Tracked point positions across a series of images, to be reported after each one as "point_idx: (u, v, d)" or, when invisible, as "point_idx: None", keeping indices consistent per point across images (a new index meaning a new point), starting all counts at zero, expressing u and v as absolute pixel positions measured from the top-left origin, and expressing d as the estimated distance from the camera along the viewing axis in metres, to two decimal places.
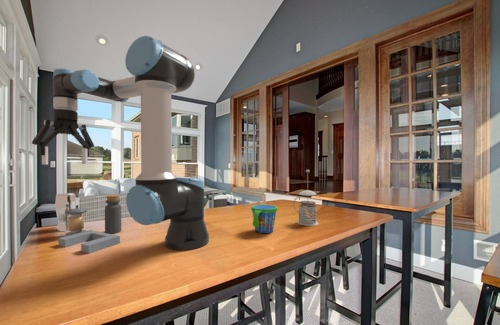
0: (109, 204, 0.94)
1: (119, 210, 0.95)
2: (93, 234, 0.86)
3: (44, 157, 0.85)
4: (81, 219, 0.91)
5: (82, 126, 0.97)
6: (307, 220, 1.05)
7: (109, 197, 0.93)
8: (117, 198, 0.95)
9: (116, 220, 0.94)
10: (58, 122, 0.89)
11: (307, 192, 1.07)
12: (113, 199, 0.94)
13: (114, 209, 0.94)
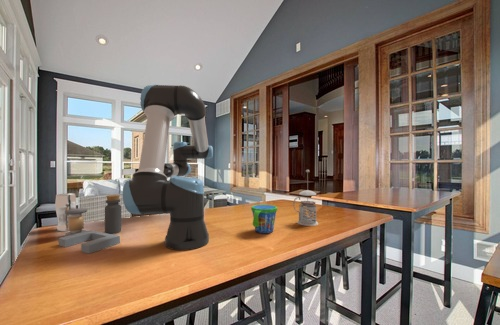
0: (109, 204, 0.94)
1: (119, 210, 0.95)
2: (93, 234, 0.86)
3: None
4: (81, 219, 0.91)
5: None
6: (307, 220, 1.05)
7: (109, 197, 0.93)
8: (117, 198, 0.95)
9: (116, 220, 0.94)
10: None
11: (307, 192, 1.07)
12: (113, 199, 0.94)
13: (114, 209, 0.94)
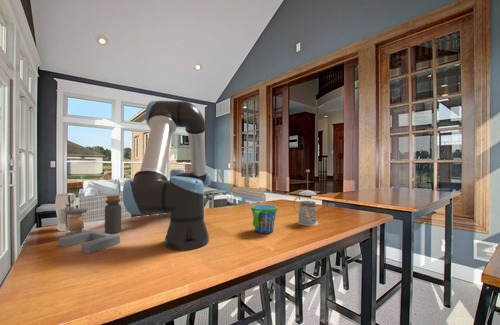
0: (109, 204, 0.94)
1: (119, 210, 0.95)
2: (93, 234, 0.86)
3: None
4: (81, 219, 0.91)
5: None
6: (307, 220, 1.05)
7: (109, 197, 0.93)
8: (117, 198, 0.95)
9: (116, 220, 0.94)
10: None
11: (307, 192, 1.07)
12: (113, 199, 0.94)
13: (114, 209, 0.94)
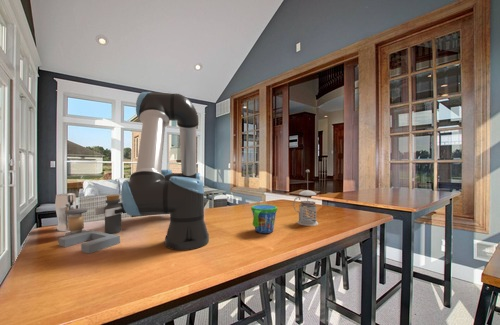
0: (109, 204, 0.94)
1: None
2: (93, 234, 0.86)
3: None
4: (81, 219, 0.91)
5: None
6: (307, 220, 1.05)
7: (109, 197, 0.93)
8: (117, 198, 0.95)
9: (116, 220, 0.94)
10: None
11: (307, 192, 1.07)
12: (113, 199, 0.94)
13: None
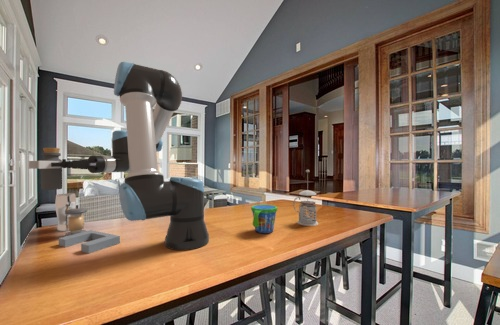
0: (46, 157, 0.83)
1: None
2: (93, 234, 0.86)
3: None
4: (81, 219, 0.91)
5: None
6: (307, 220, 1.05)
7: (45, 149, 0.83)
8: (56, 151, 0.85)
9: (54, 175, 0.83)
10: None
11: (307, 192, 1.07)
12: (50, 151, 0.83)
13: None
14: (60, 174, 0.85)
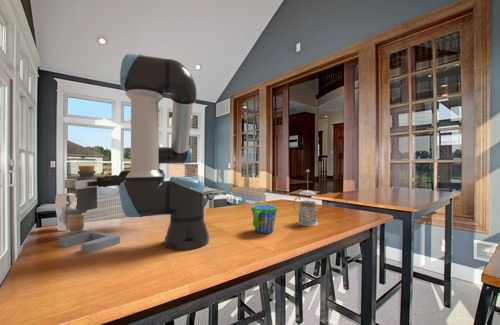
0: (81, 175, 0.80)
1: None
2: (93, 234, 0.86)
3: None
4: (81, 219, 0.91)
5: None
6: (307, 220, 1.05)
7: (81, 167, 0.79)
8: (91, 169, 0.81)
9: (90, 194, 0.80)
10: None
11: (307, 192, 1.07)
12: (86, 169, 0.80)
13: None
14: (95, 193, 0.82)
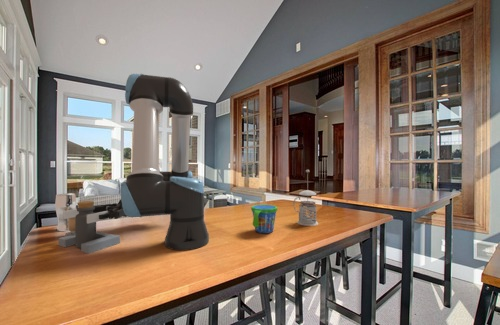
0: (80, 212, 0.79)
1: None
2: None
3: None
4: None
5: None
6: (307, 220, 1.05)
7: (80, 204, 0.78)
8: (90, 205, 0.80)
9: (89, 231, 0.79)
10: None
11: (307, 192, 1.07)
12: (85, 206, 0.79)
13: None
14: (94, 229, 0.81)
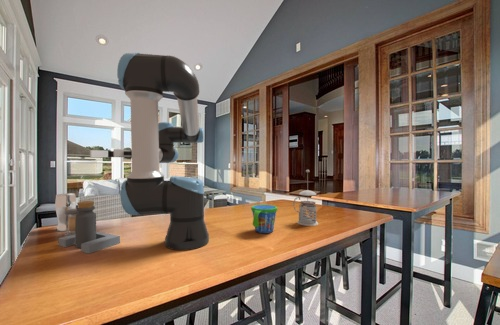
0: (80, 212, 0.79)
1: (93, 219, 0.80)
2: None
3: None
4: None
5: None
6: (307, 220, 1.05)
7: (80, 204, 0.78)
8: (90, 205, 0.80)
9: (89, 231, 0.79)
10: None
11: (307, 192, 1.07)
12: (85, 206, 0.79)
13: (87, 218, 0.78)
14: (94, 229, 0.81)
